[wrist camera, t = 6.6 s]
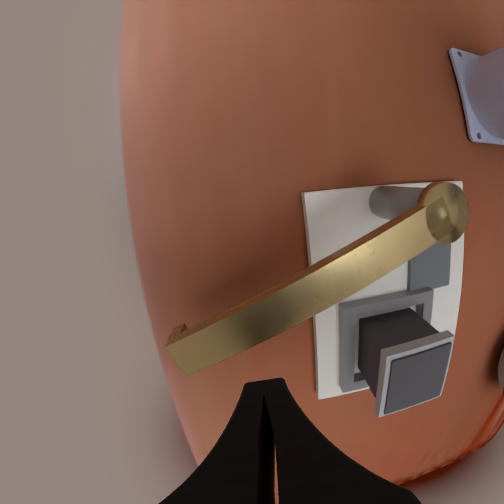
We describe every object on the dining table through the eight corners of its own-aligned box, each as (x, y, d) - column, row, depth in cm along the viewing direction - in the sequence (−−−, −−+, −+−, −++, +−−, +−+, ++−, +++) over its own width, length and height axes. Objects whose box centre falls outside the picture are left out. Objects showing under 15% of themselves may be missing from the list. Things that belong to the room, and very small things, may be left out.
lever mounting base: (454, 180, 18) (519, 185, 11) (443, 357, 21) (485, 399, 14) (301, 192, 18) (332, 197, 11) (315, 391, 21) (335, 455, 14)
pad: (447, 234, 17) (450, 235, 17) (446, 283, 18) (449, 284, 18) (407, 241, 18) (410, 242, 17) (406, 292, 18) (409, 294, 18)
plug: (413, 302, 18) (456, 337, 13) (407, 356, 19) (442, 397, 14) (354, 315, 19) (388, 358, 13) (353, 370, 20) (379, 419, 14)
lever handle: (452, 221, 12) (474, 226, 10) (198, 361, 14) (192, 383, 12) (435, 172, 12) (458, 173, 10) (167, 319, 13) (157, 337, 11)
